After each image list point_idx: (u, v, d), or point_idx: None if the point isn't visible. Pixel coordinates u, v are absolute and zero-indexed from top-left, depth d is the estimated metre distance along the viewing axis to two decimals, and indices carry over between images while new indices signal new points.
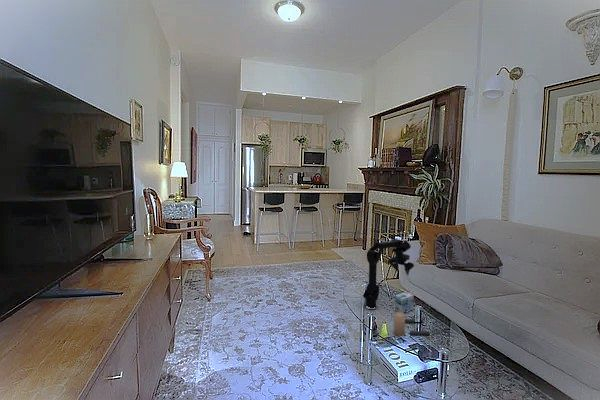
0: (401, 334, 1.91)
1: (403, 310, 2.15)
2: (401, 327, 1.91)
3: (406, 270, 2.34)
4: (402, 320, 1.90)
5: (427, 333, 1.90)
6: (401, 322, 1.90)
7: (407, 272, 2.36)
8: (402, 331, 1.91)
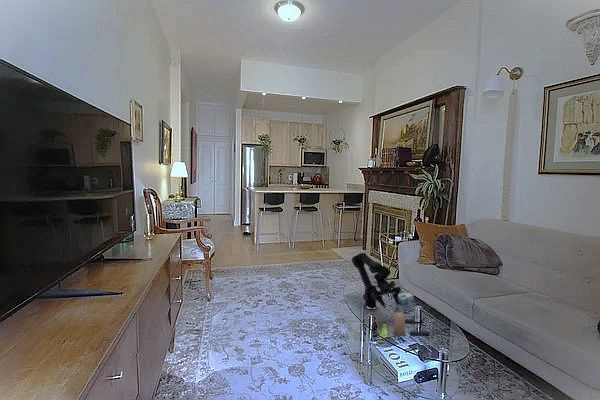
0: (401, 334, 1.91)
1: (403, 310, 2.15)
2: (401, 327, 1.91)
3: None
4: (402, 320, 1.90)
5: (427, 333, 1.90)
6: (401, 322, 1.90)
7: (380, 303, 2.00)
8: (402, 331, 1.91)
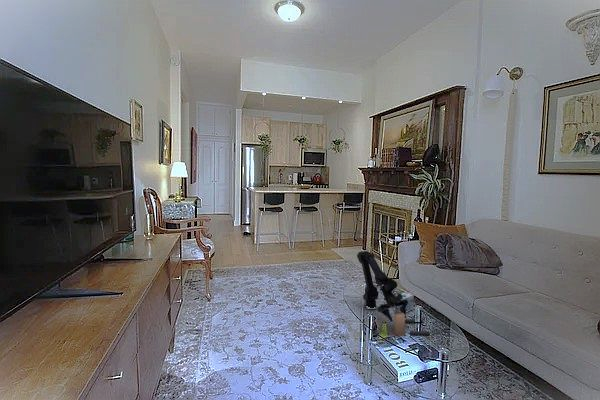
0: (401, 334, 1.91)
1: None
2: (401, 327, 1.91)
3: (383, 313, 1.97)
4: (402, 320, 1.90)
5: (427, 333, 1.90)
6: (402, 322, 1.90)
7: (387, 317, 1.94)
8: (402, 331, 1.91)
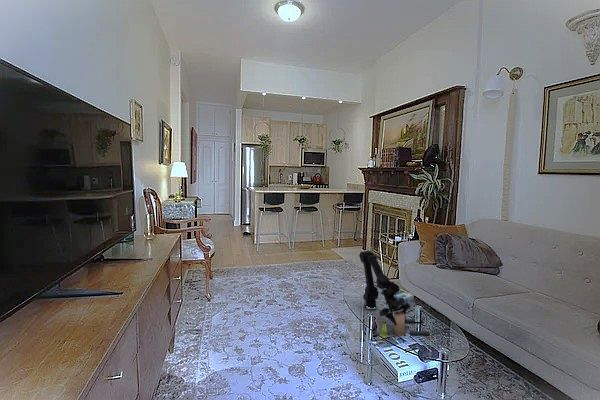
0: (401, 334, 1.91)
1: None
2: (401, 327, 1.91)
3: (387, 317, 1.96)
4: (402, 320, 1.90)
5: (427, 333, 1.90)
6: (401, 322, 1.90)
7: (391, 320, 1.93)
8: (402, 331, 1.91)
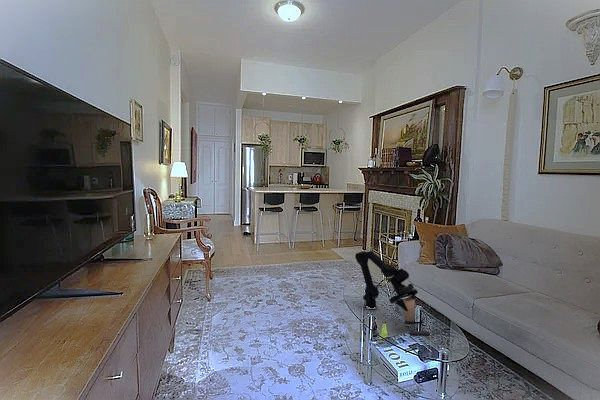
0: (412, 319, 1.94)
1: (403, 310, 2.15)
2: (412, 312, 1.93)
3: (397, 304, 1.97)
4: (413, 305, 1.92)
5: (427, 333, 1.90)
6: (412, 308, 1.92)
7: (402, 307, 1.95)
8: (413, 316, 1.94)
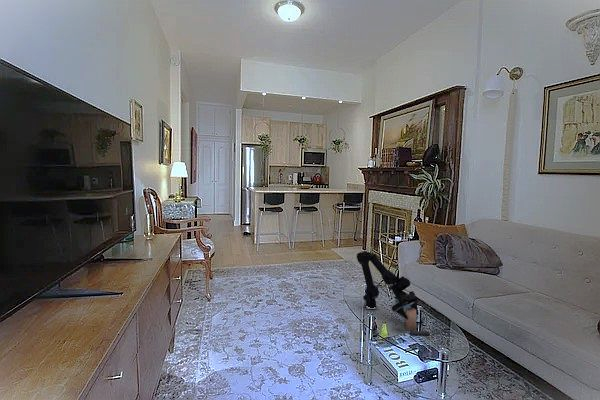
0: (414, 329, 1.96)
1: None
2: (414, 322, 1.95)
3: (397, 312, 1.98)
4: (414, 315, 1.94)
5: (427, 333, 1.90)
6: (414, 317, 1.94)
7: (402, 315, 1.96)
8: (414, 326, 1.96)
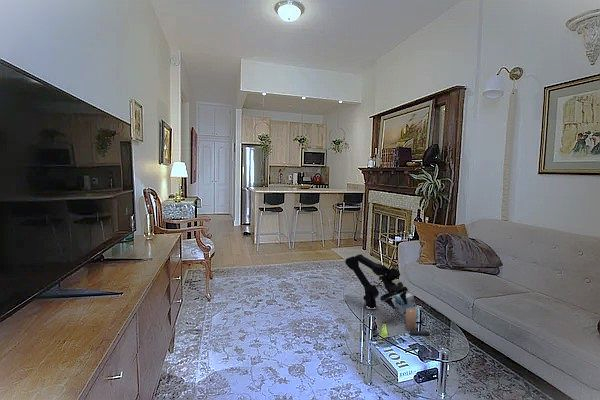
0: (414, 329, 1.96)
1: (403, 310, 2.15)
2: (414, 322, 1.95)
3: None
4: (414, 315, 1.94)
5: (427, 333, 1.90)
6: (414, 317, 1.94)
7: (390, 305, 2.04)
8: (414, 326, 1.96)
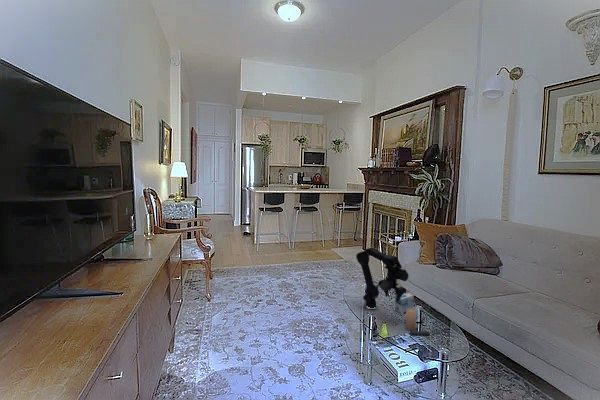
0: (414, 329, 1.96)
1: (403, 310, 2.15)
2: (414, 322, 1.95)
3: None
4: (414, 315, 1.94)
5: (427, 333, 1.90)
6: (414, 317, 1.94)
7: (386, 290, 2.14)
8: (414, 326, 1.96)
